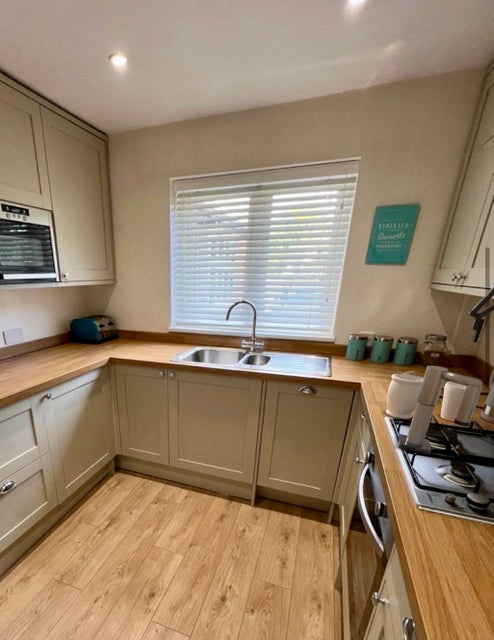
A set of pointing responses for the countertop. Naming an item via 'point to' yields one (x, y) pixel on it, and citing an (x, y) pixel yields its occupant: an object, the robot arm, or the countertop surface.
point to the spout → (434, 386)
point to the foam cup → (452, 400)
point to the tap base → (414, 447)
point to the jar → (403, 395)
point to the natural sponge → (412, 373)
